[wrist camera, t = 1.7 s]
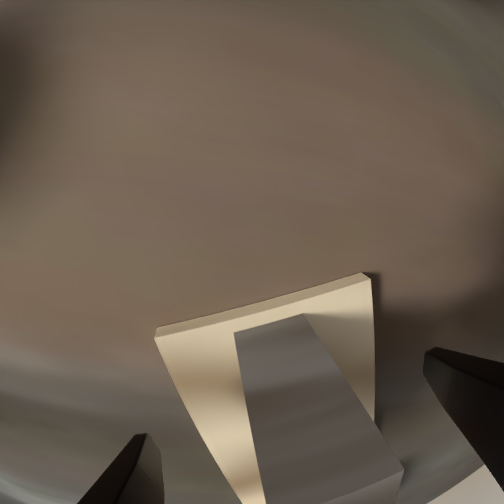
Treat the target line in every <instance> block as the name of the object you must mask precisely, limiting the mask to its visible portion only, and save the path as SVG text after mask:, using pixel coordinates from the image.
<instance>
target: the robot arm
mask: <svg viewBox="0 0 504 504" xmlns="http://www.w3.org/2000/svg"><path fill="white" fill-rule="evenodd" d="M423 374H424V376H425V378H426V380H427V381H428V383H429V385H430V386H431V388H432V390H433V391H434V393H435V395H436V396H437V398H438V400H439V401H440V403H441V405H442V406H443V408H444V409H445V411H446V412H447V413H448V415H449V416H450V417H451V419H452V420H453V421H454V423H455V424H456V425H457V427H458V428H459V429H460V431H461V432H462V433H463V435H464V436H465V437H466V439H467V440H468V441H469V443H470V444H471V446H472V447H473V448H474V450H475V451H476V452H477V454H478V455H479V457H480V458H481V459H482V461H483V462H484V464H485V465H486V466H487V468H488V469H489V471H490V472H491V474H492V475H493V477H494V478H495V479H496V481H497V482H498V484H499V485H500V487H501V488H502V490H503V491H504V363H501V362H497V361H493V360H488V359H484V358H480V357H476V356H472V355H467V354H463V353H459V352H455V351H451V350H447V349H443V348H439V347H434V348H432V349H430V350H428V351H426V353H425V355H424V365H423ZM77 504H164V484H163V474H162V464H161V454H160V450H159V448H158V447H157V445H156V444H155V442H154V441H153V440H152V438H151V437H150V435H149V434H147V433H143V434H136V435H134V436H133V438H132V439H131V440H130V441H129V442H128V444H127V445H126V446H125V447H124V449H123V450H122V451H121V452H120V453H119V455H118V456H117V457H116V458H115V459H114V461H113V462H112V463H111V464H110V465H109V467H108V468H107V469H106V470H105V471H104V473H103V474H102V475H101V476H100V477H99V479H98V480H97V481H96V482H95V483H94V484H93V486H92V487H91V488H90V489H89V490H88V492H87V493H86V494H85V495H84V496H83V497H82V499H81V500H80V501H79V502H78V503H77Z"/></svg>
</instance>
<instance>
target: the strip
mask: <svg viewBox="0 0 504 504" xmlns="http://www.w3.org/2000/svg"><path fill="white" fill-rule="evenodd" d="M154 339H155V341H156V344H157V346H158V348H159V351H160V353H161V355H162V358H163V360H164V362H165V364H166V366H167V369H168V371H169V373H170V375H171V377H172V379H173V382H174V384H175V386H176V388H177V390H178V392H179V394H180V396H181V398H182V400H183V402H184V404H185V406H186V408H187V410H188V412H189V414H190V416H191V418H192V420H193V421H194V423H195V425H196V427H197V429H198V431H199V433H200V434H201V436H202V438H203V440H204V442H205V443H206V445H207V447H208V449H209V450H210V452H211V454H212V456H213V457H214V459H215V461H216V462H217V464H218V466H219V467H220V469H221V471H222V472H223V474H224V475H225V477H226V479H227V480H228V482H229V483H230V485H231V487H232V488H233V490H234V491H235V493H236V494H237V496H238V497H239V499H240V500H241V502H242V503H243V504H394V503H395V500H396V496H397V493H398V490H399V487H400V484H401V480H402V477H403V473H404V468H403V466H402V465H401V463H400V462H399V460H398V458H397V457H396V455H395V454H394V452H393V451H392V449H391V448H390V446H389V444H388V443H387V441H386V440H385V438H384V437H383V435H382V434H381V432H380V431H379V429H378V427H377V426H376V424H375V423H374V409H375V344H374V320H373V304H372V290H371V279H370V278H368V277H367V276H366V275H364V274H363V273H361V272H360V273H357V274H354V275H351V276H348V277H344V278H341V279H338V280H335V281H331V282H328V283H325V284H321V285H318V286H315V287H311V288H308V289H304V290H301V291H297V292H294V293H290V294H287V295H283V296H280V297H276V298H273V299H269V300H265V301H262V302H258V303H254V304H251V305H247V306H243V307H239V308H235V309H232V310H228V311H224V312H220V313H216V314H212V315H208V316H204V317H200V318H196V319H191V320H187V321H183V322H179V323H175V324H170V325H166V326H162V327H157V330H156V333H155V337H154Z"/></svg>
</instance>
